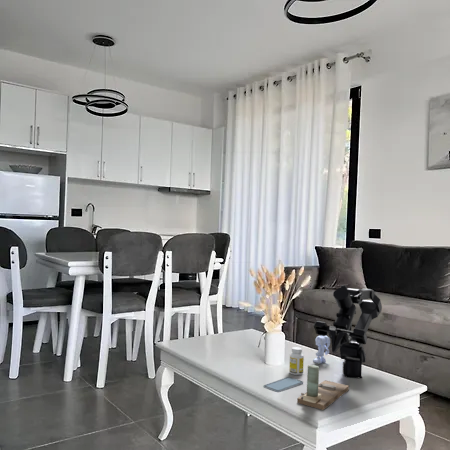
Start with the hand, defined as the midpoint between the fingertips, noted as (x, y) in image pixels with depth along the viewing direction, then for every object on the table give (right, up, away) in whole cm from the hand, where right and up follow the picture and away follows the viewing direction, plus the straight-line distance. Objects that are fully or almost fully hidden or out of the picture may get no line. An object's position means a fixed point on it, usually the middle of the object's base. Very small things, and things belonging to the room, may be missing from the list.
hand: (333, 352), depth 163 cm
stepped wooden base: (-4, -13, -6) cm, 15 cm away
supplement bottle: (-10, -13, +18) cm, 25 cm away
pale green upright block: (-11, -11, -14) cm, 21 cm away
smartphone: (-17, -13, +3) cm, 22 cm away
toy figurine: (+2, -14, +34) cm, 37 cm away
